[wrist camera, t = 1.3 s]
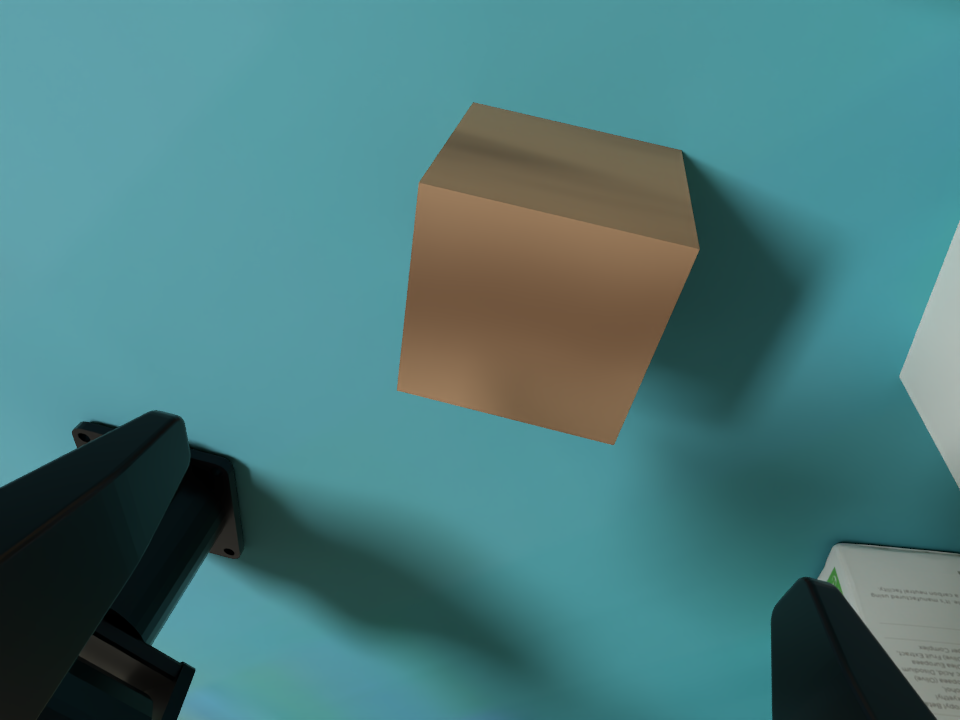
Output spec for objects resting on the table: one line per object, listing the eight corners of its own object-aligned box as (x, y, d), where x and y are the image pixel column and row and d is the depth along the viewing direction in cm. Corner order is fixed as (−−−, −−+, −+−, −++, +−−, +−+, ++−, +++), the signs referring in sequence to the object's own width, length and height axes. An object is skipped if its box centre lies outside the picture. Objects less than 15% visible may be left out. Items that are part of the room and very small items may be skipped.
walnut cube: (617, 319, 18) (613, 445, 14) (447, 278, 18) (397, 390, 14) (681, 149, 15) (699, 249, 11) (474, 101, 15) (418, 182, 11)
